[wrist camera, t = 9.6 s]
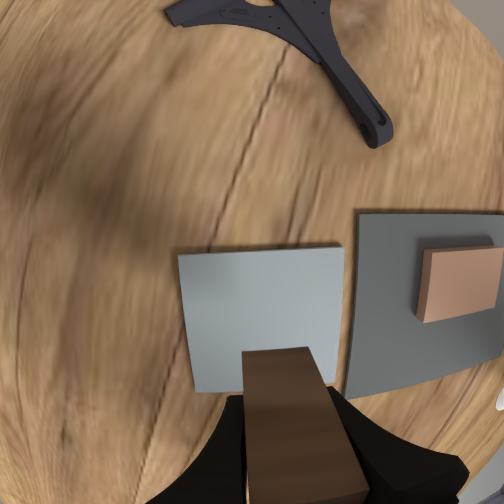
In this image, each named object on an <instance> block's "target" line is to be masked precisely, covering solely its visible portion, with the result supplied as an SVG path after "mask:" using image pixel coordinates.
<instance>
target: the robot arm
mask: <svg viewBox="0 0 504 504" xmlns="http://www.w3.org/2000/svg"><path fill="white" fill-rule="evenodd" d="M326 388H327V390H328V392H329V394H330V397H331V399H332V401H333V404H334V406H335V408H336V411H337V413H338V415H339V418H340V420H341V422H342V425H343V427H344V429H345V432H346V434H347V436H348V439H349V441H350V443H351V446H352V448H353V450H354V453H355V455H356V457H357V460H358V462H359V464H360V467H361V469H362V472H363V474H364V476H365V479H366V481H367V483H368V486H369V488H370V490H369V492H368V495H367V497H366V499H365V501H364V503H363V504H458V503H459V499H458V498H457V496H456V495H457V493H458V492H459V491H460V489H461V488H462V487H463V485H464V484H465V483H466V481H467V479H468V477H469V473H470V472H469V470H468V469H467V467H466V466H465V465H464V463H463V462H462V460H461V459H460V458H459V457H458V456H455V455H450V454H445V453H440V452H436V451H432V450H429V449H426V448H423V447H420V446H417V445H415V444H412V443H410V442H408V441H405V440H403V439H401V438H399V437H397V436H395V435H393V434H391V433H390V432H388V431H386V430H384V429H383V428H381V427H380V426H378V425H377V424H375V423H374V422H373V421H371V420H370V419H368V418H367V417H366V416H365V415H363V414H362V413H361V412H360V411H359V410H357V409H356V408H355V407H354V406H353V405H352V404H350V403H349V402H348V401H347V400H346V399H345V398H344V397H343V396H342V395H341V394H340V393H339V392H338V391H337V390H336V389H335V388H333V387H332V386H329V387H326ZM246 488H247V453H246V435H245V416H244V397H243V395H230V396H228V397H227V401H226V404H225V407H224V410H223V413H222V415H221V418H220V420H219V422H218V424H217V426H216V428H215V430H214V432H213V433H212V435H211V437H210V438H209V440H208V442H207V443H206V445H205V447H204V448H203V449H202V451H201V452H200V454H199V455H198V456H197V458H196V459H195V460H194V461H193V462H192V464H191V465H190V466H189V467H188V468H187V469H186V470H185V471H184V473H183V474H182V475H181V476H180V477H178V478H177V479H176V480H175V481H174V482H173V483H172V484H171V485H170V486H168V487H167V488H166V489H165V490H164V491H162V492H161V493H159V494H158V495H157V496H155V497H154V498H152V499H151V500H149V501H148V502H146V503H145V504H247V500H246ZM477 504H504V484H503V486H502V487H501V489H500V490H498V491H497V492H496V493H494V494H492V495H490V496H489V497H487V498H486V499H484V500H483V501H481V502H479V503H477Z"/></svg>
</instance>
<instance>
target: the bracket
mask: <svg viewBox="0 0 504 504" xmlns="http://www.w3.org/2000/svg"><path fill="white" fill-rule="evenodd" d="M273 1H274V2H275V4H276V6H272V7H262V6H256V5H253V4H250V3H248V2H246V1H245V0H182V1H180V2H178V3H176V4H174V5H172V6H170V7H168V8H166V9H164V13H165V14H166V15H167V16H169V17H170V19H171V21H172V23H173V25H174V27H176V26H178V25H182V26H183V27H191V26H198V25H207V24H230V25H239V26H245V27H250V28H255V29H258V30H262V31H266V32H269V33H271V34H274V35H276V36H278V37H279V38H281V39H283V40H285V41H287V42H289V43H290V44H292V45H293V46H295V47H296V48H298V49H299V50H300V51H302V52H303V53H304V54H305V55H306V56H308V57H309V58H310V59H311V60H312V61H314V62H315V63H320V65H321V66H322V67H323V69H324V71H325V72H326V74H327V75H328V77H329V78H330V80H331V81H332V83H333V85H334V86H335V88H336V89H337V91H338V93H339V94H340V96H341V98H342V99H343V101H344V103H345V104H346V106H347V108H348V110H349V111H350V113H351V115H352V117H353V118H354V120H355V122H356V124H357V126H358V127H359V129H360V131H361V133H362V135H363V137H364V139H365V140H366V142H367V144H368V146H369V147H370V148H372V149H375V148H377V147H379V146H381V145H383V144H385V143H387V142H389V141H391V139H392V138H393V125H392V121H391V119H390V118H389V116H388V114H387V113H386V112H385V110H384V109H383V108H382V107H381V105H380V104H379V103H378V102H377V100H376V99H375V98H374V96H373V95H372V94H371V92H370V91H369V90H368V88H367V87H366V86H365V84H364V83H363V82H362V81H361V79H360V78H359V77H358V75H357V74H356V73H355V72H354V70H353V69H352V68H351V67H350V65H349V64H348V63H347V61H346V60H345V59H344V57H343V56H342V55H341V51H340V48H339V46H338V43H337V40H336V38H335V35H334V32H333V28H332V23H331V17H330V4H331V0H273ZM368 128H369V129H368ZM369 130H370V131H369Z"/></svg>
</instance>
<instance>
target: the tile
mask: <svg viewBox="0 0 504 504" xmlns="http://www.w3.org/2000/svg"><path fill="white" fill-rule="evenodd" d="M503 252H504V248H503V247H500V246H497V245H486V246H471V247H455V248H439V249H424V254H423V265H422V275H421V284H420V292H419V300H418V307H417V313H416V318H417V319H419V320H420V321H421V322H422V323H428V322H433V321H438V320H443V319H447V318H452V317H457V316H461V315H465V314H470V313H474V312H478V311H482V310H486V309H490V308H494V307H495V302H496V297H497V292H498V287H499V281H500V274H501V268H502V260H503Z"/></svg>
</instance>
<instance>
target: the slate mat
mask: <svg viewBox="0 0 504 504" xmlns="http://www.w3.org/2000/svg"><path fill="white" fill-rule="evenodd" d="M486 245H497V246H500V247H503V248H504V215H490V214H440V213H376V214H357V252H356V275H355V292H354V306H353V318H352V329H351V339H350V348H349V357H348V365H347V373H346V380H345V387H344V394H343V397H344V398H345V399H346V400H349V399H354V398H359V397H365V396H370V395H374V394H379V393H383V392H388V391H392V390H396V389H400V388H404V387H408V386H412V385H416V384H420V383H423V382H427V381H430V380H434V379H437V378H440V377H443V376H447V375H450V374H453V373H456V372H459V371H462V370H465V369H468V368H470V367H473V366H476V365H479V364H481V363H484V362H487V361H489V360H492V359H494V358H497V357H499V356H501V353H502V350H503V346H504V252H503V260H502V268H501V274H500V281H499V287H498V292H497V297H496V302H495V307H494V308H490V309H486V310H482V311H478V312H474V313H470V314H465V315H461V316H457V317H452V318H447V319H443V320H438V321H433V322H428V323H422V322H421V321H420V320H419V319H417V318H416V313H417V307H418V300H419V292H420V284H421V275H422V265H423V254H424V249H439V248H455V247H471V246H486Z"/></svg>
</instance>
